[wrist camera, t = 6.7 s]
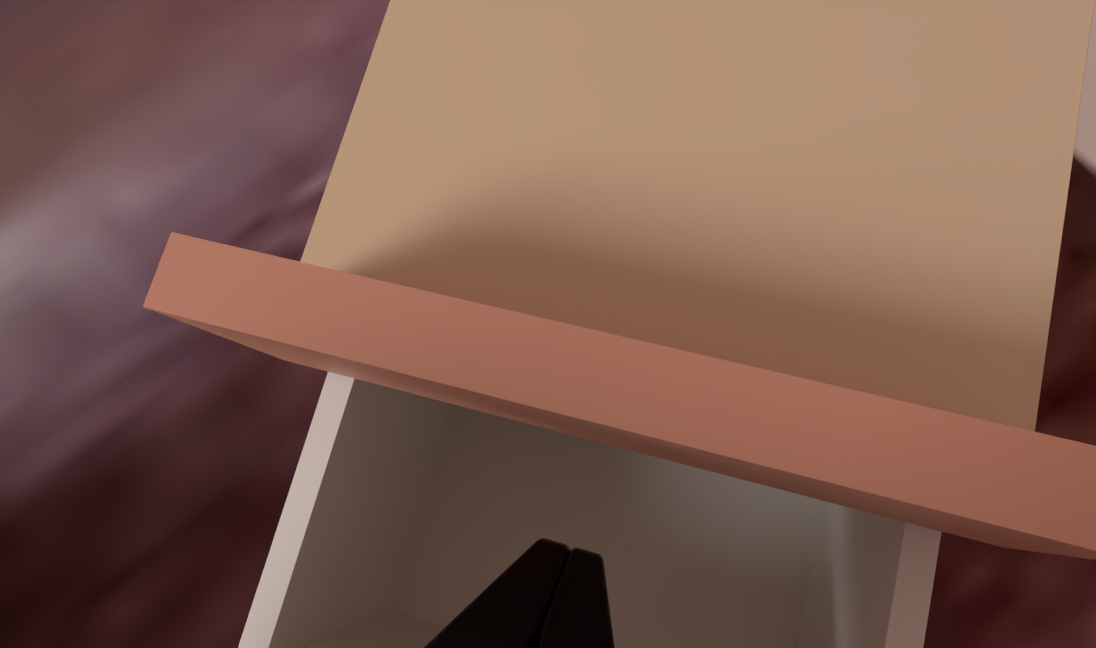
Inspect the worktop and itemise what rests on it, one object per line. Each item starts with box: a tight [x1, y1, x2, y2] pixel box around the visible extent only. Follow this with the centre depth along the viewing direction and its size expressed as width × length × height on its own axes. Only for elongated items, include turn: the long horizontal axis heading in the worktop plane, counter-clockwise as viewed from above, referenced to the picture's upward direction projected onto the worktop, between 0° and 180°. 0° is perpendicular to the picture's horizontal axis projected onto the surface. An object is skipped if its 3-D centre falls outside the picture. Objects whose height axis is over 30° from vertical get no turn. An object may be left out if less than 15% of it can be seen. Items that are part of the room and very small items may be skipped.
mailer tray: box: [238, 372, 941, 648], centre depth 15 cm, size 12×10×6 cm
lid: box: [143, 0, 1096, 560], centre depth 12 cm, size 13×11×5 cm
